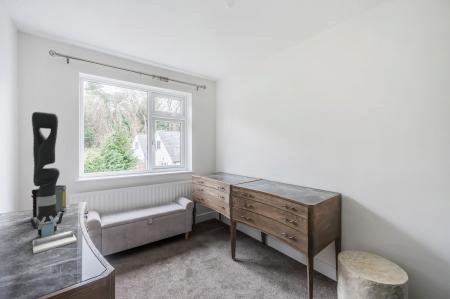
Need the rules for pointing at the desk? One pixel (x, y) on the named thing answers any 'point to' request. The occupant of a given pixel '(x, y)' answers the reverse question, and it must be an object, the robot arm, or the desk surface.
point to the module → (47, 229)
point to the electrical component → (59, 199)
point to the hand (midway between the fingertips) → (47, 233)
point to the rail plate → (53, 241)
